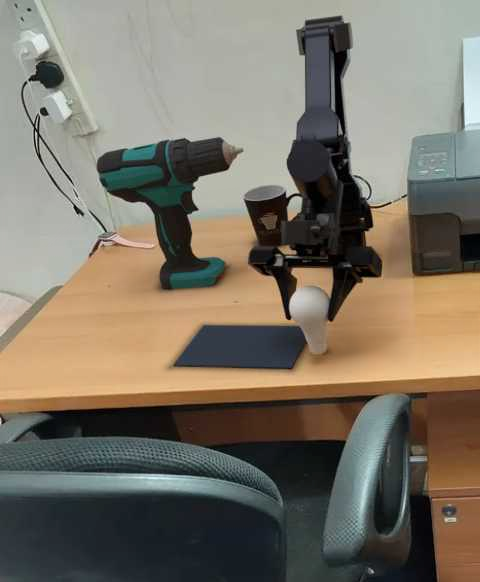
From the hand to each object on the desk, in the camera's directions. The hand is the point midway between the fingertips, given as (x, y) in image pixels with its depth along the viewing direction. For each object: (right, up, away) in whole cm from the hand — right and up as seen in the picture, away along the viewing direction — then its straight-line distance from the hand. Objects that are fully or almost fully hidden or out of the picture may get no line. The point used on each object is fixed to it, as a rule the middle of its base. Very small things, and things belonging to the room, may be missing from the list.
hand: (308, 320), depth 95 cm
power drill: (-23, +14, +33) cm, 42 cm away
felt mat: (-11, -2, +10) cm, 15 cm away
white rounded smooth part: (+1, -4, +5) cm, 7 cm away
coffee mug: (-9, +24, +42) cm, 49 cm away
